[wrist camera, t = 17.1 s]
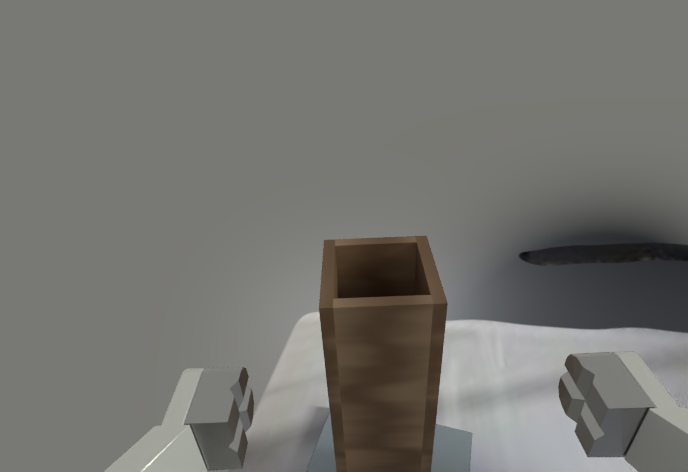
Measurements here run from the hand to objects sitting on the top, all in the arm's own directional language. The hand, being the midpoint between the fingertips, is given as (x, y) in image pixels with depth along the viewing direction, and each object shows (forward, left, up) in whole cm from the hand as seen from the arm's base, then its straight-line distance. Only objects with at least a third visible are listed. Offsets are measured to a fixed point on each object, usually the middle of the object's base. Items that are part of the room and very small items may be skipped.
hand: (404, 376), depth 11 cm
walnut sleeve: (+4, -12, -29) cm, 32 cm away
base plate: (+4, -12, -31) cm, 33 cm away
